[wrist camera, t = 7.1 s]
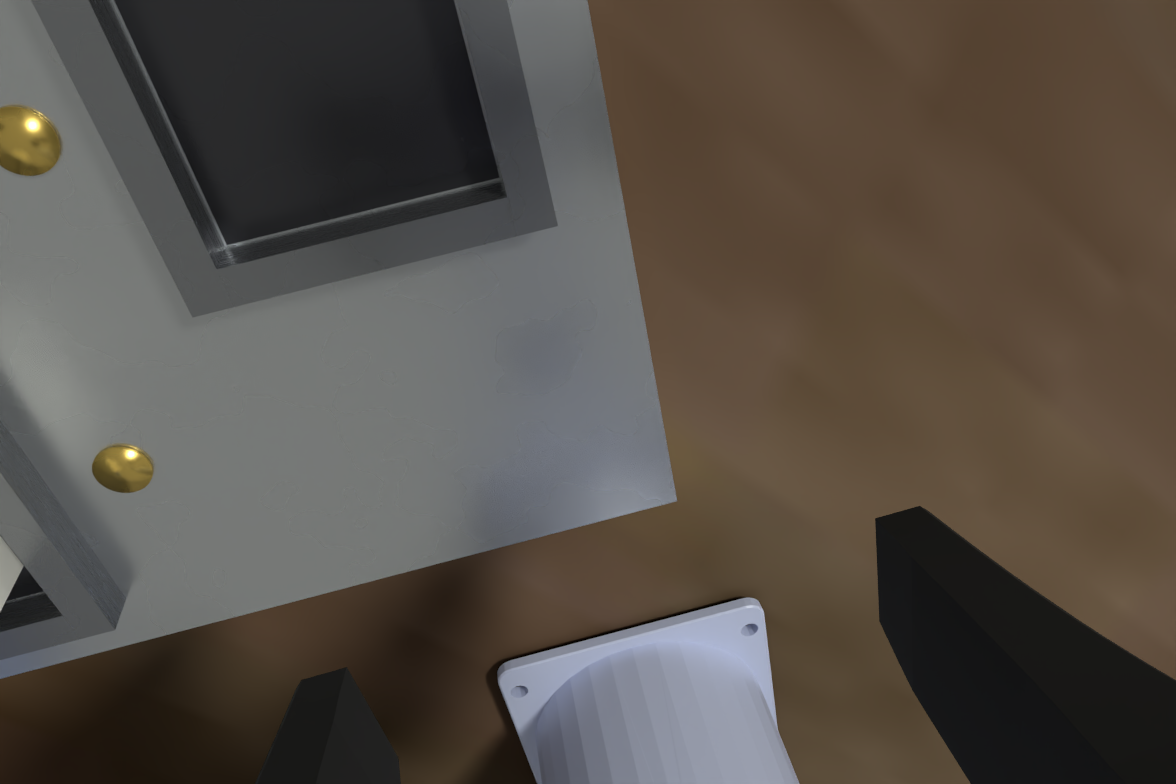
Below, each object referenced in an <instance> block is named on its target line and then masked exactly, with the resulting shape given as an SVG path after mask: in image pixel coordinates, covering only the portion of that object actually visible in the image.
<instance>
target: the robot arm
mask: <svg viewBox="0 0 1176 784" xmlns="http://www.w3.org/2000/svg"><path fill="white" fill-rule="evenodd" d="M875 521H876V546H877V570H878V595H879V620H880V623H881V625H882V627H883V630H884V632H885V634H886V636H887V638H888V640H889V642H890V645H891V647H892V649H893V651H894V653H895V655H896V657H897V659H898V661H899V664H900V666H901V668H902V670H903V672H904V674H905V676H906V678H907V680H908V682H909V684H910V686H911V688H912V690H913V692H914V693H915V695H916V697H917V698H918V700H919V701H920V703H921V705H922V706H923V708H924V710H925V711H926V713H927V714H928V716H929V718H930V719H931V721H932V722H933V724H934V726H935V727H936V729H937V730H938V732H939V734H940V735H941V737H942V738H943V740H944V742H945V743H946V745H947V746H948V748H949V750H950V751H951V753H952V754H953V756H954V758H955V759H956V761H957V762H958V764H959V765H960V767H961V769H962V770H963V772H964V773H965V775H966V777H967V778H968V780H969V781H970V783H971V784H1176V680H1175V679H1173V678H1171V677H1169V676H1168V675H1166V674H1164V673H1163V672H1161V671H1159V670H1157V669H1156V668H1154V667H1152V666H1151V665H1149V664H1147V663H1146V662H1144V661H1142V660H1141V659H1139V658H1138V657H1136V656H1134V655H1133V654H1131V653H1129V652H1128V651H1126V650H1125V649H1123V648H1121V647H1120V646H1118V645H1117V644H1115V643H1113V642H1112V641H1110V640H1108V639H1107V638H1105V637H1104V636H1102V635H1101V634H1099V633H1098V632H1096V631H1094V630H1093V629H1091V628H1090V627H1088V626H1087V625H1085V624H1084V623H1082V622H1081V621H1079V620H1078V619H1076V618H1075V617H1073V616H1072V615H1070V614H1069V613H1067V612H1066V611H1064V610H1063V609H1061V608H1060V607H1059V606H1057V605H1056V604H1054V603H1053V602H1051V601H1050V600H1048V599H1047V598H1045V597H1044V596H1042V595H1041V594H1040V593H1038V592H1037V591H1035V590H1034V589H1032V588H1031V587H1029V586H1028V585H1027V584H1025V583H1024V582H1022V581H1021V580H1020V579H1018V578H1017V577H1015V576H1014V575H1013V574H1011V573H1010V572H1008V571H1007V570H1006V569H1004V568H1003V567H1002V566H1000V565H999V564H997V563H996V562H995V561H993V560H992V559H991V558H989V557H988V556H987V555H985V554H984V553H983V552H981V551H980V550H979V549H977V548H976V547H975V546H973V545H972V544H971V543H969V542H968V541H967V540H965V539H964V538H963V537H961V536H960V535H959V534H957V533H956V532H955V531H953V530H952V529H951V528H950V527H948V526H947V525H946V524H944V523H943V522H942V521H940V520H939V519H938V518H937V517H935V516H934V515H933V514H931V513H930V512H929V511H927V510H926V509H924V508H922V507H920V506H918V507H914V508H911V509H907V510H904V511H900V512H897V513H893V514H890V515H886V516H882V517H879V518H875ZM747 624H749V625H747ZM745 625H747V626H745ZM497 676H498V685H499V687H500V690H501V692H502V695H503V697H504V700H505V703H506V705H507V708H508V710H509V713H510V715H511V718H512V720H513V723H514V726H515V728H516V731H517V733H518V736H519V738H520V741H521V744H522V746H523V749H524V751H525V754H526V756H527V759H528V762H529V764H530V767H531V769H532V772H533V774H534V777H535V779H536V782H537V784H799V782H798V779H797V777H796V774H795V772H794V769H793V767H792V764H791V762H790V759H789V757H788V754H787V752H786V749H785V747H784V744H783V742H782V739H781V737H780V734H779V732H778V728H777V720H776V711H775V702H774V694H773V685H772V677H771V668H770V660H769V651H768V643H767V634H766V625H765V617H764V612H763V609H762V607H761V605H760V603H759V601H758V600H756V599H754V598H742V599H738V600H734V601H730V602H727V603H723V604H719V605H715V606H712V607H708V608H704V609H700V610H697V611H693V612H689V613H685V614H682V615H678V616H674V617H670V618H667V619H663V620H659V621H655V622H652V623H648V624H644V625H640V626H637V627H633V628H629V629H625V630H622V631H618V632H614V633H611V634H607V635H603V636H599V637H596V638H592V639H588V640H584V641H581V642H577V643H573V644H569V645H566V646H562V647H558V648H554V649H551V650H547V651H543V652H539V653H536V654H532V655H528V656H524V657H521V658H517V659H513V660H510V661H507V662H505V663H503V664H502V665H501V666H500V667H499V669H498V671H497ZM516 686H520V687H516ZM255 784H401V782H400V771H399V760H398V756H397V755H396V753H395V751H394V749H393V748H392V746H391V744H390V742H389V741H388V739H387V737H386V735H385V734H384V732H383V730H382V728H381V727H380V725H379V723H378V721H377V720H376V718H375V716H374V714H373V713H372V711H371V709H370V707H369V706H368V704H367V702H366V700H365V699H364V697H363V695H362V693H361V692H360V690H359V688H358V686H357V685H356V683H355V681H354V679H353V678H352V676H351V674H350V672H349V670H348V669H347V667H346V668H343V669H339V670H336V671H332V672H329V673H325V674H321V675H318V676H314V677H311V678H307V679H304V680H301V682H300V683H299V685H298V686H297V688H296V690H295V693H294V695H293V697H292V700H291V702H290V704H289V707H288V709H287V711H286V714H285V716H284V718H283V721H282V723H281V725H280V728H279V730H278V732H277V735H276V737H275V739H274V742H273V744H272V746H271V748H270V751H269V753H268V755H267V758H266V760H265V762H264V764H263V766H262V769H261V771H260V773H259V775H258V778H257V780H256V782H255Z"/></svg>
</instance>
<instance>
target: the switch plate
mask: <svg viewBox="0 0 1176 784" xmlns="http://www.w3.org/2000/svg"><path fill="white" fill-rule="evenodd" d="M675 501H677V498H676V493H675V487H674V481H673V476H672V470H671V465H670V459H669V454H668V448H667V442H666V437H665V431H664V426H663V420H662V414H661V409H660V403H659V398H658V392H657V387H656V381H655V375H654V370H653V364H652V359H651V353H650V348H649V342H648V336H647V331H646V325H645V320H644V314H643V308H642V303H641V297H640V292H639V286H638V281H637V275H636V269H635V264H634V258H633V253H632V247H631V241H630V236H629V230H628V225H627V219H626V214H625V208H624V202H623V197H622V191H621V186H620V180H619V174H618V169H617V163H616V158H615V152H614V147H613V141H612V135H611V130H610V124H609V119H608V113H607V108H606V102H605V96H604V91H603V85H602V80H601V74H600V68H599V63H598V57H597V52H596V46H595V41H594V35H593V29H592V24H591V18H590V13H589V7H588V1H587V0H0V536H1V537H2V539H3V540H4V541H5V542H6V544H7V545H8V546H9V547H10V549H11V550H12V551H13V553H14V554H15V555H16V556H17V558H18V559H19V560H20V562H21V563H22V564H23V565H24V566H23V568H22V570H21V572H20V574H19V576H18V578H17V580H16V582H15V584H14V586H13V588H12V590H11V592H10V594H9V596H8V598H7V600H6V602H5V604H4V606H3V608H2V610H1V612H0V679H1V678H5V677H9V676H12V675H16V674H20V673H24V672H28V671H31V670H35V669H39V668H43V667H47V666H50V665H54V664H58V663H62V662H66V661H69V660H73V659H77V658H81V657H85V656H89V655H92V654H96V653H100V652H104V651H108V650H111V649H115V648H119V647H123V646H127V645H130V644H134V643H138V642H142V641H146V640H149V639H153V638H157V637H161V636H165V635H168V634H172V633H176V632H180V631H184V630H188V629H191V628H195V627H199V626H203V625H207V624H210V623H214V622H218V621H222V620H226V619H229V618H233V617H237V616H241V615H245V614H248V613H252V612H256V611H260V610H264V609H267V608H271V607H275V606H279V605H283V604H287V603H290V602H294V601H298V600H302V599H306V598H309V597H313V596H317V595H321V594H325V593H328V592H332V591H336V590H340V589H344V588H347V587H351V586H355V585H359V584H363V583H366V582H370V581H374V580H378V579H382V578H386V577H389V576H393V575H397V574H401V573H405V572H408V571H412V570H416V569H420V568H424V567H427V566H431V565H435V564H439V563H443V562H446V561H450V560H454V559H458V558H462V557H466V556H469V555H473V554H477V553H481V552H485V551H488V550H492V549H496V548H500V547H504V546H507V545H511V544H515V543H519V542H523V541H526V540H530V539H534V538H538V537H542V536H545V535H549V534H553V533H557V532H561V531H565V530H568V529H572V528H576V527H580V526H584V525H587V524H591V523H595V522H599V521H603V520H606V519H610V518H614V517H618V516H622V515H625V514H629V513H633V512H637V511H641V510H644V509H648V508H652V507H656V506H660V505H664V504H667V503H671V502H675Z"/></svg>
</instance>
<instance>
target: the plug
mask: <svg viewBox="0 0 1176 784" xmlns="http://www.w3.org/2000/svg"><path fill="white" fill-rule="evenodd" d="M23 566H24V565H23V564H22V563H21V562H20V560H19V559H18V558H17V556H16V555H15V554H14V553H13V551H12V550H11V549H10V547H9V546H8V545H7V544H6V542H5V541H4V540H3V539H2V537H1V536H0V612H1V610H2V608H3V606H4V604H5V602H6V600H7V598H8V596H9V594H10V592H11V590H12V588H13V586H14V584H15V582H16V580H17V578H18V576H19V574H20V572H21V570H22V568H23Z"/></svg>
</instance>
